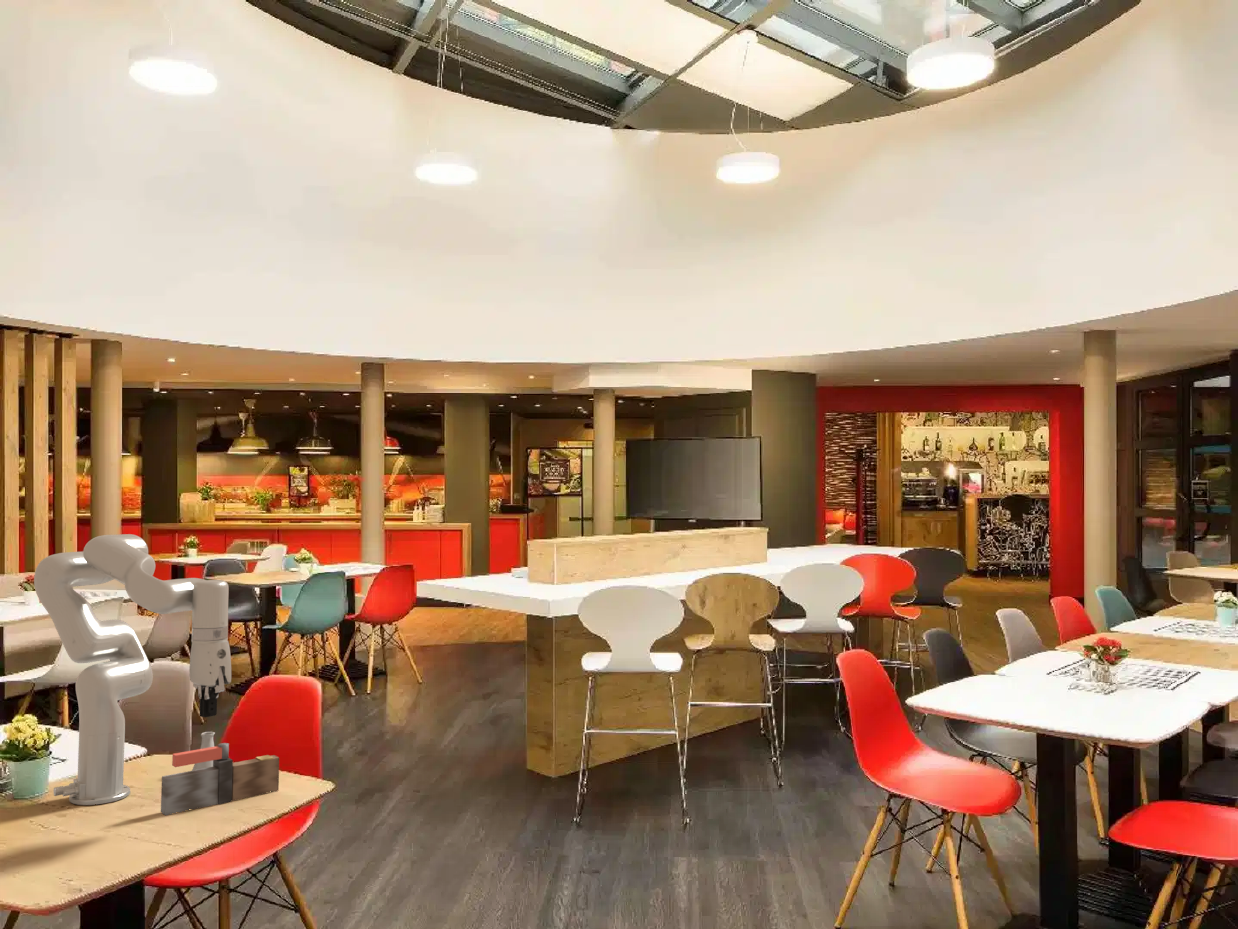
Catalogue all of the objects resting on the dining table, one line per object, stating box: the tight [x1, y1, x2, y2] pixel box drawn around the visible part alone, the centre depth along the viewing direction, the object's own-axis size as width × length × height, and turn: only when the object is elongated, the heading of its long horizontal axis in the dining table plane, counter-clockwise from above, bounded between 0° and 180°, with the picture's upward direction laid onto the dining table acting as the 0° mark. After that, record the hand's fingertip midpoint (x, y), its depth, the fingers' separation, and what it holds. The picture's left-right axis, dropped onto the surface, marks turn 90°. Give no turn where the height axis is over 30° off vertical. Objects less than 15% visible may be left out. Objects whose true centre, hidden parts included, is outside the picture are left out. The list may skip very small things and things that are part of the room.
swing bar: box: [171, 742, 230, 768], centre depth 212 cm, size 12×2×3 cm, turn 134°
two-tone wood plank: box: [160, 754, 280, 817], centre depth 215 cm, size 26×4×10 cm, turn 134°
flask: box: [191, 731, 216, 771], centre depth 238 cm, size 7×7×10 cm
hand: (208, 715), depth 208 cm, fingers closed
